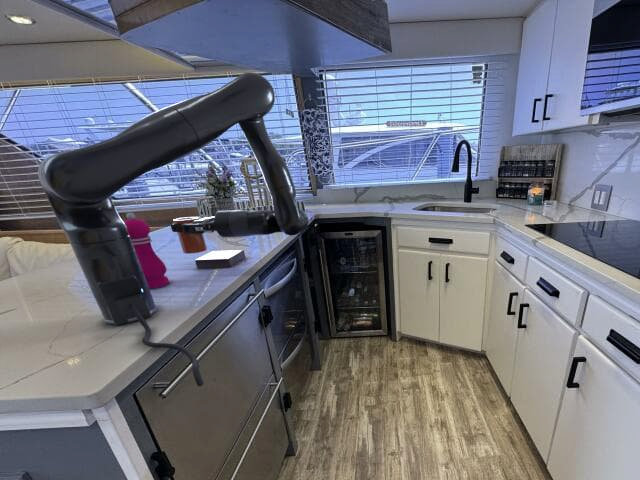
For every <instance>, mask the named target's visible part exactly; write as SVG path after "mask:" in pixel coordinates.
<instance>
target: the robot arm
mask: <svg viewBox="0 0 640 480" xmlns="http://www.w3.org/2000/svg"><path fill="white" fill-rule="evenodd" d="M275 100H276V96H275V90H274V87H273V85H272V83H271V82H270V81H269V80H268V79H267V78H266V77H264V76H263V75H261V74H259V73H256V72H251V71H249V72H248V71H247V72H243V73H241V74H240V75H238V76H236V77H235V78H233V79H232V80H231V81H229V82H228V83H227V82H226V83H225V84H224V85H222V86H220V87H218V88H217V89H215V90H212V91H209V92H207V93H204V94H200V95H196V96H194V97H190V98H188V99H185V100H182V101H179V102H176V103H175V104H171V105H169V106H166V107H163V108H161V109H159V110H157V111H154V112H152V113H150V114H148V115H146V116H144V117H143V118H141V119H139V120H138V121H136V122H134V123H133V124H131V125H130V126H129V127H126V129H124V130H123V131H122V132H120V133H119V134H117V135H115V136H113V137H109V138H108V139H105V140H102V141H100V142H99V141H98V142H96V143H94V144H90V145H87V146H84V147H79V148H76V149H73V150H69V151H68V150H67V151H62V152H57V153H55V154H52V155H49V156H47V157H45V158H44V159H43V160H42V161H40V163H39V166H38V168H37V169H38V170H37V177H38V181H39V183H40V185H41V188H42V190H43V192H44V194H45V196H46V199H47V201H48V202H49V205H50V207H51V209H52V211H53V214H54V216H55V217H56V220H57V222H58V224H59V227H60V228H61V229H62V230H63V231H62V232H63V233H64V234H65V236H66V238H67V240H68V242H69V244H70V246H71V248H72V251H73V253H74V255H75V258H76V260H77V262H78V265H79V266H80V269H81V270H82V273H83V275H84V278H85V281H86V282H87V284H88V287H89V289H90V291H91V293H92V295H93V297H94V299H95V302H96V304H97V306H98V308H99V310H100V313H101V314H102V315H101V316H102V317H103V320H104V323H105V324H108V325H115V326H116V327H118V326H121V325H125V324H129V323H133V322H137V321H138V322H139V323H140V324H141V326H142V327H143V328H144V331H145V334H144V336H143V338H142V344H143V345H145V346H146V347H149V348H158V349H159V348H160V349H173V350H177V351H178V352H181V353H183V354H184V355H185V356H186V357H187V358H188V359H189V361H190V362H191V364H192V375H193V378H194V381H195V383H196V385H197V387H203V386H204V383H205V382H204V380H203V378H202V375H201V372H200V368H199V367H200V366H199V361H198V359H197V357H196V356H195V354H193V352H192V351H191V350H190V349H188V348H187V347H185V346H183V345H181V344H177V343H169V342H167V343H165V342H163V343H162V342H152V341H149V339H150V338H151V336H152V330H151V327H150V325H149V324H148V322H147V321H146V320H145V319H148V318H150V317H152V315H153V314H155V313H156V312H157V311H158V306H157V304H156V302H155V300H154V297H153V295H152V292H151V289H150V288H149V287H148V284H147V281H146V279H145V276H144V273H143V271H142V268H141V265H140V263H139V260H138V257H137V255H136V252H135V249H134V246H133V244H132V241H131V238H130V236H129V233H128V230H127V228H126V225H125V224H124V220H123V219H122V218H121V216H120V215H119V213H118V211H117V209H116V207H115V204H114V202H113V199H112V196H113V195H115V194H117V192H119V191H120V190H122V189H123V188H124V187H126V186H127V185H129V184H131V183H133V181H135V180H137V179H139V178H140V177H142V176H143V175H145V174H147V173H149V172H152V171H155V170H158V169H161V168H164V167H166V166H168V165H171V164H174V163H175V162H178V161H180V160H183V159H184V158H187V157H188V156H191V155H192V154H194V153H196V152H198V151H200V150H202V149H203V148H205V147H207V146H208V145H210V144H211V143H213V142H214V141H216V140H217V139H218V138H219V137H221V136H222V135H224V134H225V133H226V132H227V131H228V130H230V129H231V128H232V127H234V126H236V125H237V124H238V126H239V127H240V129H241V132H242V133H243V135H244V137H245V139H246V141H247V143H248V145H249V147H250V149H251V151H252V153H253V156H254V157H255V159H256V161H257V164H258V165H259V168H260V172H261V174H262V176H263V179H264V183H265V185H266V187H267V190H268V193H269V195H270V197H271V203H272V209H271V210H268V209H267V210H266V209H257V210H249V209H248V210H246V209H235V210H234V209H232V210H230V209H229V210H218V211H216V213H215V214H214V216H209V217H203V218H202V217H201V218H199V220H194V221H193V222H192V223H183V224H174V223H172V224H170V229H171V231H172V233H177V232H183V233H184V234H198V233H201V234H203V235H204V234H205V233H207V234H212V233H215V232H217V234H218V235H219V236H220V237H221V238H243V237H244V238H246V237H252V236H268V235H269V236H270V235H272V234H276V233H283V234H285V235H287V236H296V235H299V234H300V233H302V232H303V231H305V230H306V229H307V227H308V226H309V216H308V214H307V213H306V212H305V211H304V210H303V209H301V208H298V204H297V201H296V196H297V190H296V187H295V184H294V181H293V178H292V175H291V172H290V169H289V167H288V165H287V163H286V161H285V160H284V158H283V157H282V155H281V154H280V153H279V151H278V150H277V148H276V146H275V145H274V144H273V141H272V139H270V136H269V133H268V130H267V127H266V124H265V119H264V117H265V116H266V115H267V114H269V113H270V112H271V111H272V109H273V107H274V105H275ZM196 223H199V224H196Z"/></svg>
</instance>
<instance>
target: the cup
mask: <svg viewBox="0 0 640 480" xmlns="http://www.w3.org/2000/svg"><path fill="white" fill-rule="evenodd" d="M199 219H200V218H199V216H188V217H187V216H186V217H179V218H175V219H173V220H172V221H173V224H183V223H192V222H193V221H194V220H199ZM196 224H199V223H196ZM176 234H177V237H178V240H179V244H180V247H181V250H182V254H191V255H192V254H197V253H202V252H206V251H207V250H208V246H207V243H206V240H205V236H204V233H203V234H201V233H198V234H184V233H183V232H176Z"/></svg>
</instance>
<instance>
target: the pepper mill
mask: <svg viewBox="0 0 640 480" xmlns="http://www.w3.org/2000/svg"><path fill="white" fill-rule="evenodd" d="M125 217H126V219H125V220H123V222H124V224H125V225H126V228H127V230H128V233H129V236H130V238H131V241H132V244H133V246H134V249H135V252H136V255H137V257H138V260H139V263H140V265H141V268H142V271H143V273H144V276H145V279H146V281H147V284H148V287H149V288H150V290H153V289H158V288H161V287H165V286H166V285H168V284H169V283H170V281H169V278H168V276H167V275H166V273H167V270H168V269H167V266H166V264H165V263H164V261H163V260H162V259H161V258H160V257H159V256H158V255H157V254H156V252H155V250H154V249H153V247H152V239H151V236H150V235H149V234H150V232H151V227H150V225H149V224H148V222H146V220H143V219H141V218H136V215H135V213H133V212H127V213H126V215H125Z"/></svg>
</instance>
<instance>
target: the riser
mask: <svg viewBox="0 0 640 480" xmlns="http://www.w3.org/2000/svg"><path fill="white" fill-rule="evenodd" d="M245 259H246V254H245V250H244V249H235V250H234V249H233V250H212V251H210V252H208V253H206V254H204V255H202V256H200V257H198V258H196V259H194V262H195V265H196V269H197V270H201V269H205V270H206V269H226V268H227V269H229V268H230V269H231V268H232V267H234V266H236V265H238V264H239V263H240V262H242V261H243V260H245Z"/></svg>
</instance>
